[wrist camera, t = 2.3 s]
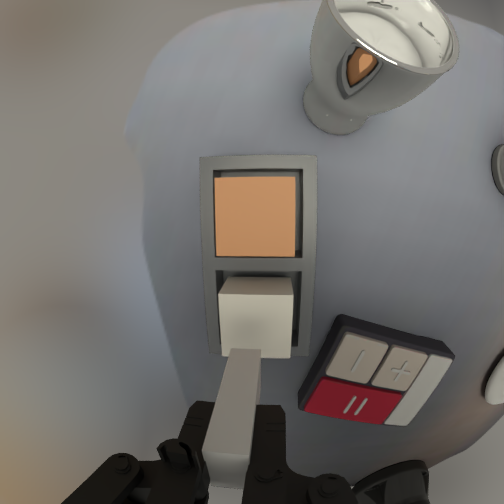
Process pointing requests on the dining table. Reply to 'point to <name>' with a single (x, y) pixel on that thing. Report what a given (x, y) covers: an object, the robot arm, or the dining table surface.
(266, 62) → the dining table surface
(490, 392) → the flower in vase
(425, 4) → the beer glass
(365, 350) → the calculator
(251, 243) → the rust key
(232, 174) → the key housing
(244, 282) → the cream key
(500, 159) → the travel mug
